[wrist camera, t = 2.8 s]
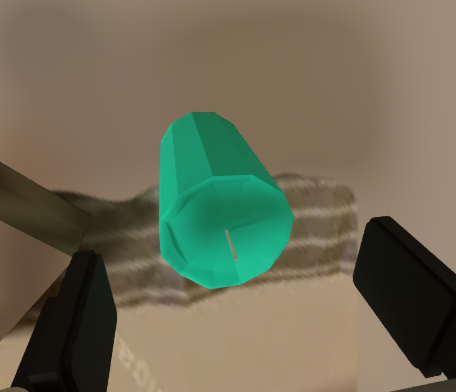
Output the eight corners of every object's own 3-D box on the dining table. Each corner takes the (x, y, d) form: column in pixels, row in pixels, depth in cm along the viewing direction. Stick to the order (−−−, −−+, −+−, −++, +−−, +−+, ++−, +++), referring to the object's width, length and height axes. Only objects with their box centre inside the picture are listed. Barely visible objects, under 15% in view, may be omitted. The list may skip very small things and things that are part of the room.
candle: (203, 91, 21) (244, 156, 10) (258, 152, 23) (336, 252, 13) (141, 153, 22) (121, 268, 11) (201, 204, 25) (229, 333, 14)
